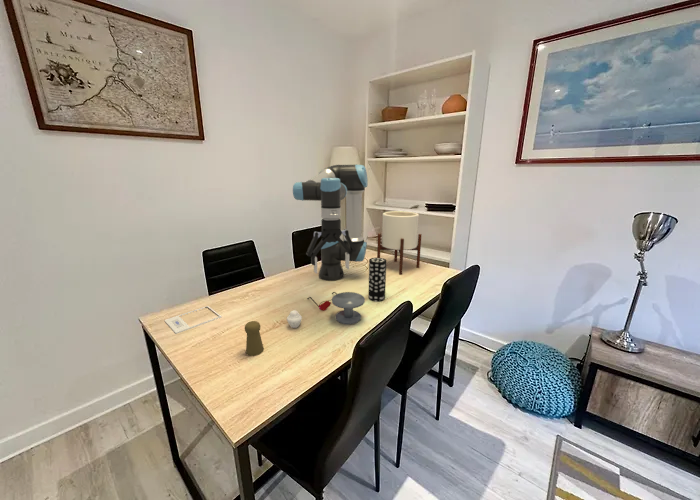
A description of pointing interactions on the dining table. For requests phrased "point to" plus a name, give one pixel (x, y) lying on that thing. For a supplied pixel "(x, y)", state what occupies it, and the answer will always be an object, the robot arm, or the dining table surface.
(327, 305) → the glasses
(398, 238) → the plant pot with stand
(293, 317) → the muffin
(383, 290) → the spotted tube
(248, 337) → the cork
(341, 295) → the cake stand
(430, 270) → the dining table surface
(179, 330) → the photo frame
